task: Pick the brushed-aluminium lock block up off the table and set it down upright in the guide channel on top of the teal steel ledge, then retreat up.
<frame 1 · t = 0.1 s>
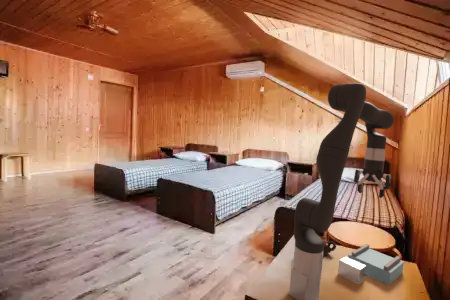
hand: (370, 195, 114), 29 cm above the table, fingers open, 8 cm apart
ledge: (374, 269, 108), on the table
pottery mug: (321, 252, 121), on the table
lock block: (350, 277, 102), on the table
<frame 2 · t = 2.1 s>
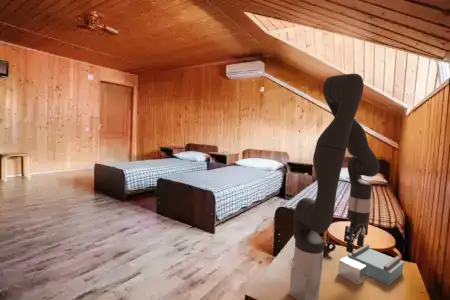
hand: (354, 249, 100), 11 cm above the table, fingers open, 8 cm apart
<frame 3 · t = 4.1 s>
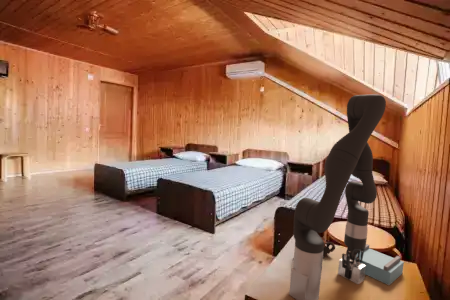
hand: (351, 275, 102), 1 cm above the table, fingers closed on lock block, 5 cm apart
lock block: (350, 277, 102), on the table, touching gripper
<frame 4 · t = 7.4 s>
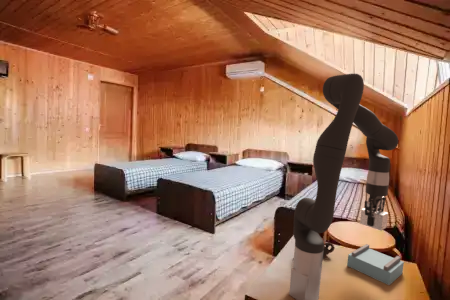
hand: (373, 223, 104), 20 cm above the table, fingers closed on lock block, 5 cm apart
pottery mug: (319, 254, 119), on the table
lock block: (373, 225, 104), point 20 cm above the table, touching gripper
everything else where it was.
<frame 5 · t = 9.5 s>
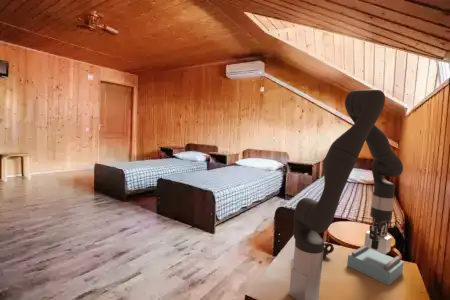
hand: (377, 246, 107), 10 cm above the table, fingers closed on lock block, 5 cm apart
lock block: (376, 248, 107), point 9 cm above the table, touching gripper
when the fingers open (7 cm above the table, at t = 11.0 s): lock block drops 1 cm, resting on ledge.
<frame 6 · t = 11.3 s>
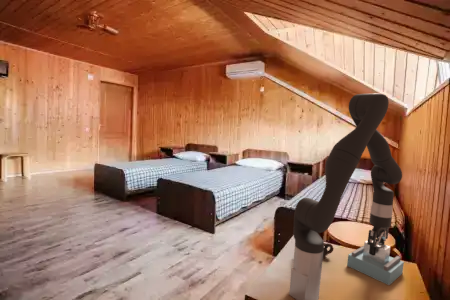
hand: (376, 251, 107), 8 cm above the table, fingers open, 8 cm apart
lock block: (375, 258, 108), point 5 cm above the table, touching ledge
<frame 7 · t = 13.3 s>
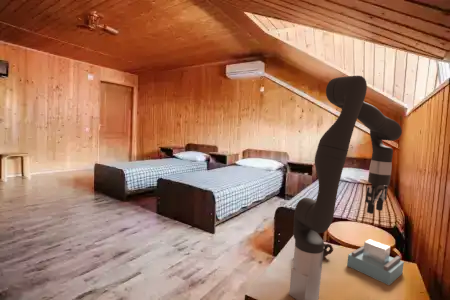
hand: (374, 211, 106), 25 cm above the table, fingers open, 8 cm apart
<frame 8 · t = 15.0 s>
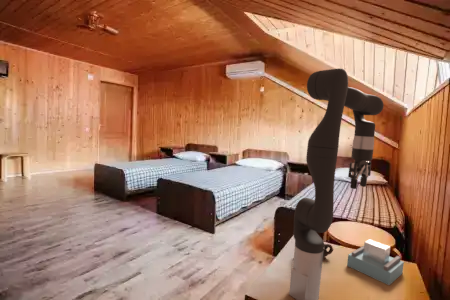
hand: (358, 187, 106), 34 cm above the table, fingers open, 8 cm apart
at the end: lock block inside the target area on the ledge (0.0 cm from its centre), point 5.0 cm above the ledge's base; lock block tilted 0°; the gripper is holding nothing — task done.
